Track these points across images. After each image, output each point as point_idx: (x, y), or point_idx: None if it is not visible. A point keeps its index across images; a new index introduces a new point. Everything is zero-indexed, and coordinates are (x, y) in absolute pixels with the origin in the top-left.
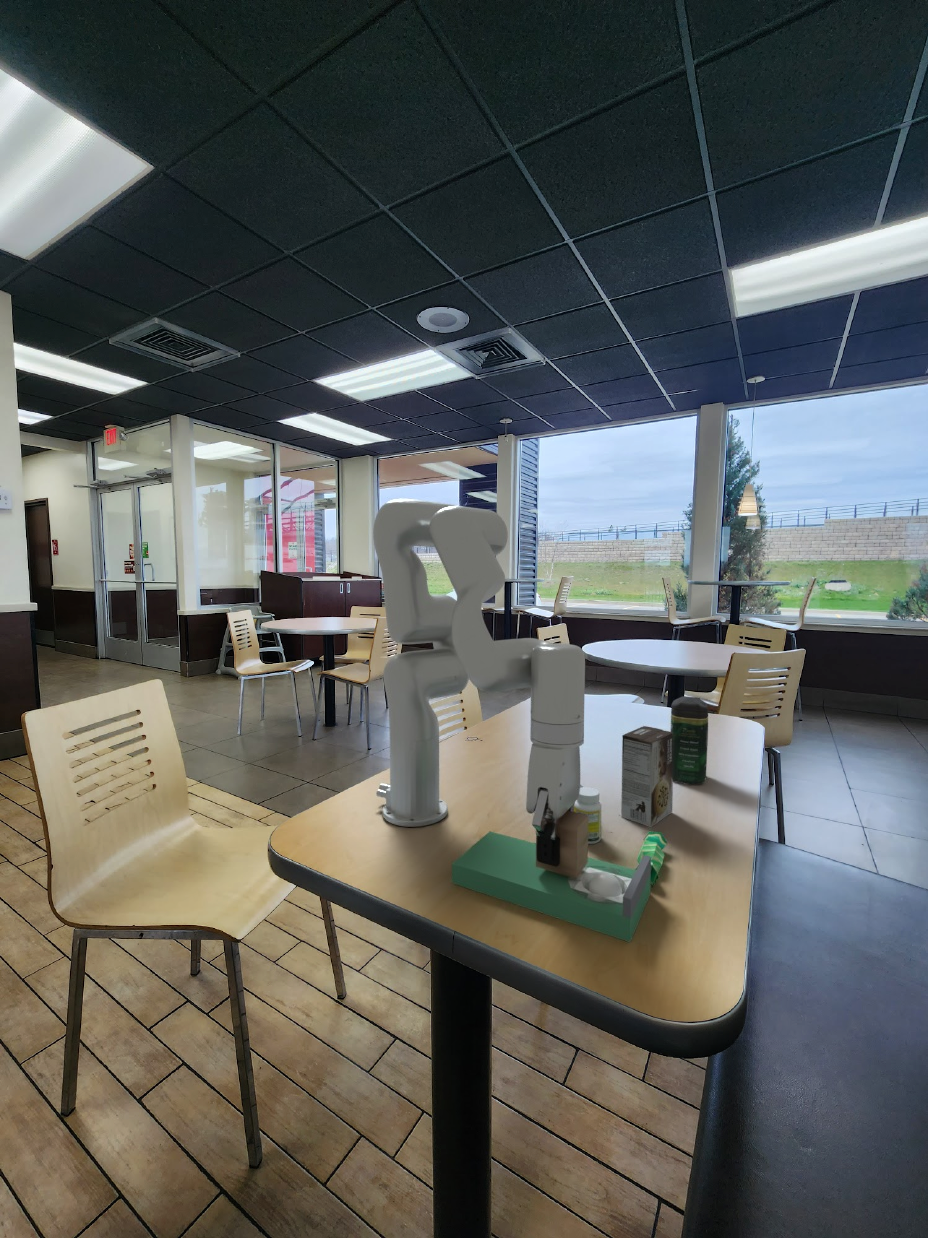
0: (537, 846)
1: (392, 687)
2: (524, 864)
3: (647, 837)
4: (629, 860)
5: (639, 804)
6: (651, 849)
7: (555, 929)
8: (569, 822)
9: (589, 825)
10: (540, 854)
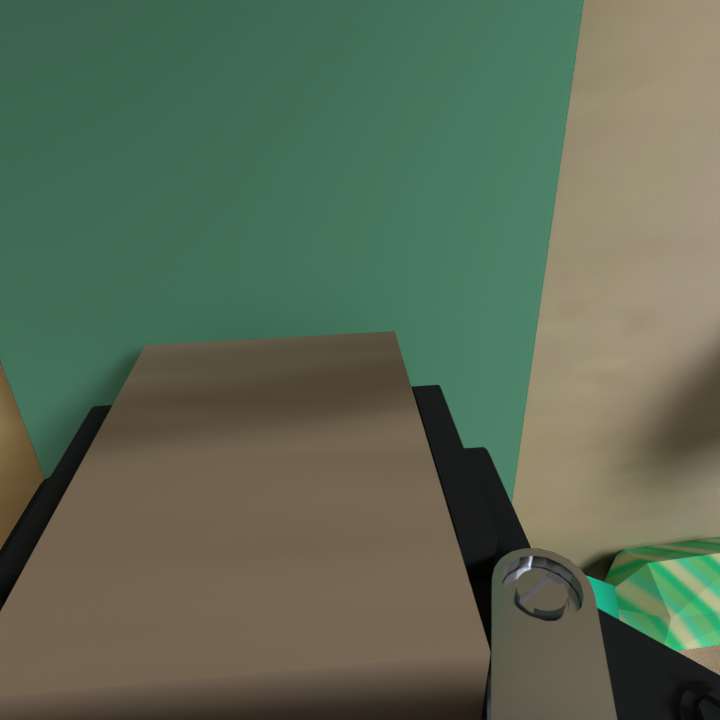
0: (49, 483)
1: None
2: (218, 202)
3: None
4: (695, 494)
5: None
6: (694, 640)
7: (20, 445)
8: None
9: None
10: (37, 492)
